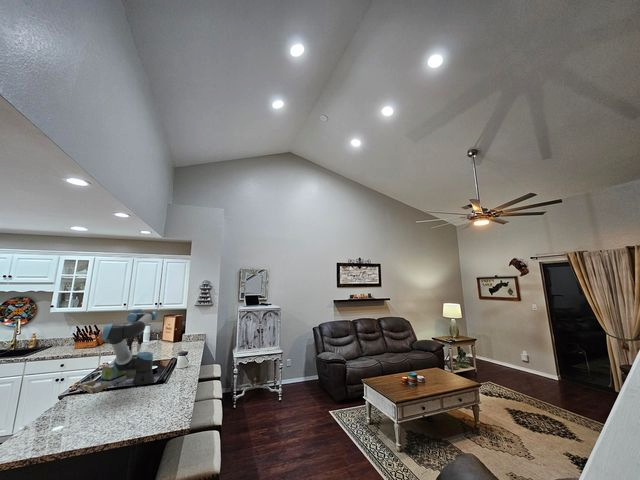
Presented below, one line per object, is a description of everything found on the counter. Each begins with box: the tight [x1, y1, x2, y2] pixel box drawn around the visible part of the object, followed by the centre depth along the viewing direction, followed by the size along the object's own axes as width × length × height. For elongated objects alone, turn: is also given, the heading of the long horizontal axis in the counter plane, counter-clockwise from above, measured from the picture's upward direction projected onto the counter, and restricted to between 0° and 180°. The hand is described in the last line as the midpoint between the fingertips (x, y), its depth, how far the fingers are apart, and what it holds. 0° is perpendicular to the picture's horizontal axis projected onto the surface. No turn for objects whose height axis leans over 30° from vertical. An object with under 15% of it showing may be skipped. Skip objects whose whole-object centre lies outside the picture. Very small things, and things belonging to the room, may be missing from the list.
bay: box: [79, 380, 109, 394], centre depth 218 cm, size 18×10×4 cm, turn 67°
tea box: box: [99, 362, 127, 386], centre depth 233 cm, size 15×10×15 cm
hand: (134, 352), depth 249 cm, fingers open, 6 cm apart
